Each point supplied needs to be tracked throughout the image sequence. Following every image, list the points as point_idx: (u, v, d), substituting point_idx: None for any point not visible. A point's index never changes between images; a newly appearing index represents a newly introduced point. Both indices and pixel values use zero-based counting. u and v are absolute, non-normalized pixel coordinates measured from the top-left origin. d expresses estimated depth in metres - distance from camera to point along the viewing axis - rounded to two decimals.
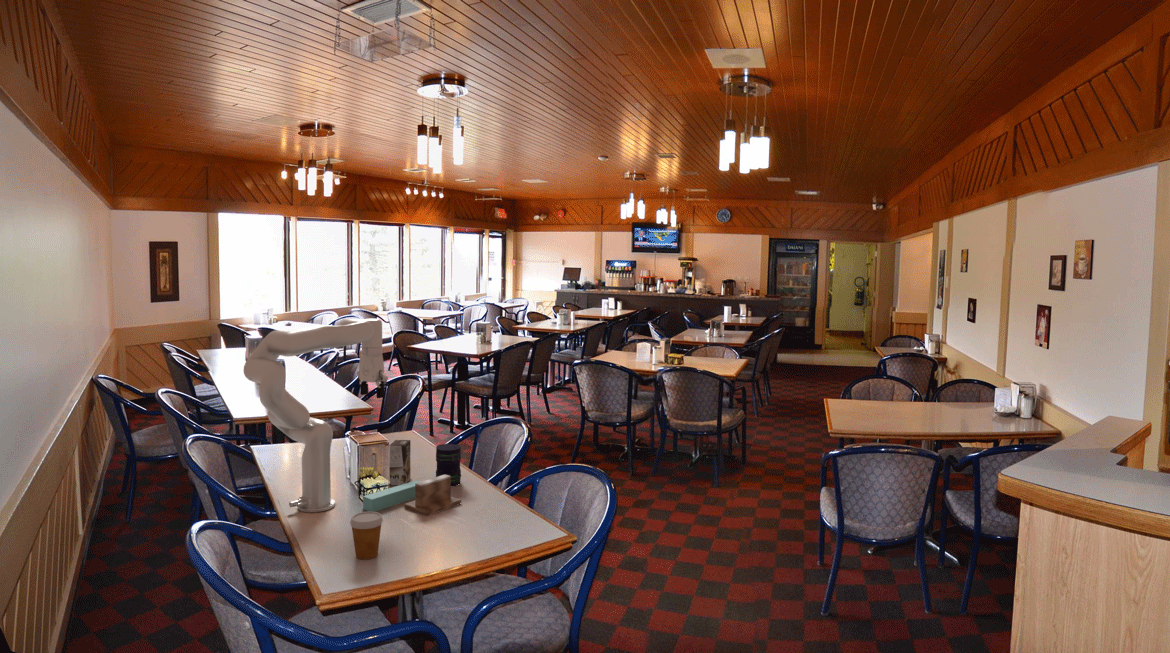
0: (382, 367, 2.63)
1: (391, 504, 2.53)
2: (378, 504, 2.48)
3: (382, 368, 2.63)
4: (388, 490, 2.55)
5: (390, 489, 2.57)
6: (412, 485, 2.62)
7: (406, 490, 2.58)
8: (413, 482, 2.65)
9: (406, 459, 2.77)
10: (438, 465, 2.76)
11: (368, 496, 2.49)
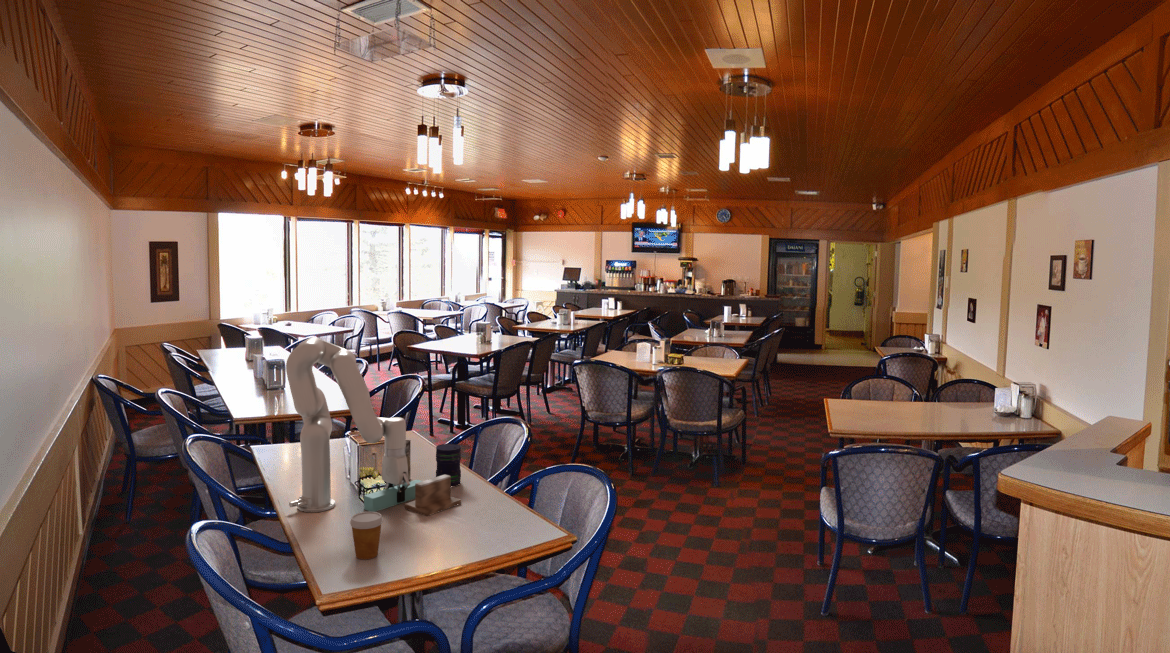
0: (406, 468, 2.54)
1: (392, 503, 2.53)
2: (379, 504, 2.48)
3: (406, 469, 2.54)
4: (389, 489, 2.56)
5: (391, 488, 2.57)
6: (413, 484, 2.62)
7: (407, 489, 2.58)
8: (414, 481, 2.65)
9: None
10: (438, 465, 2.76)
11: (369, 495, 2.49)
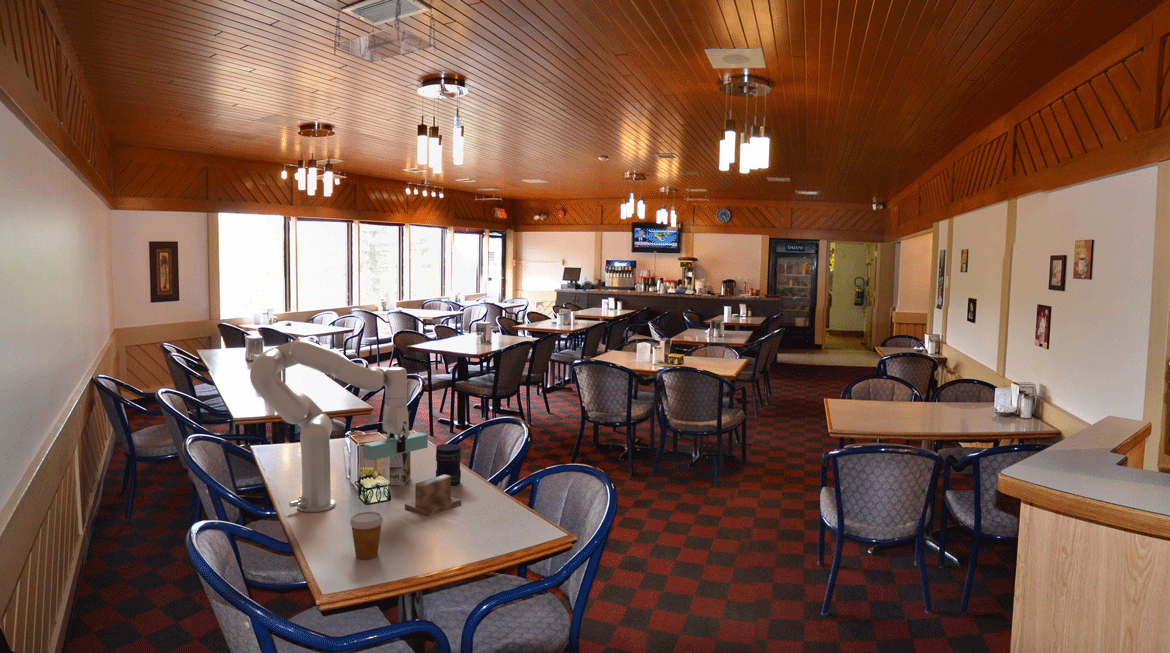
0: (406, 418, 2.52)
1: (392, 453, 2.51)
2: (379, 452, 2.47)
3: (406, 419, 2.52)
4: (389, 439, 2.54)
5: (392, 438, 2.55)
6: (414, 436, 2.59)
7: (408, 440, 2.56)
8: (416, 433, 2.63)
9: (406, 459, 2.77)
10: (438, 465, 2.76)
11: (368, 443, 2.47)
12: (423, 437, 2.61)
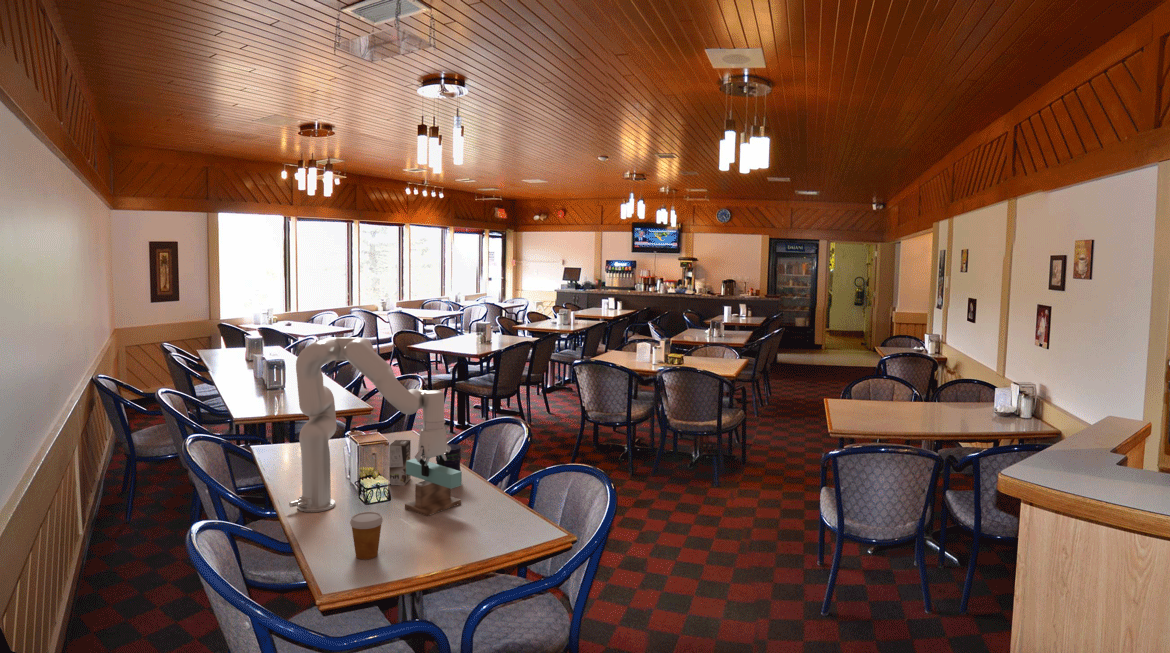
0: (424, 443, 2.47)
1: (421, 476, 2.53)
2: (411, 469, 2.56)
3: (424, 444, 2.47)
4: (431, 464, 2.54)
5: (433, 464, 2.54)
6: (443, 471, 2.47)
7: (434, 471, 2.48)
8: (454, 471, 2.48)
9: (406, 459, 2.77)
10: None
11: (415, 459, 2.59)
12: (447, 475, 2.44)
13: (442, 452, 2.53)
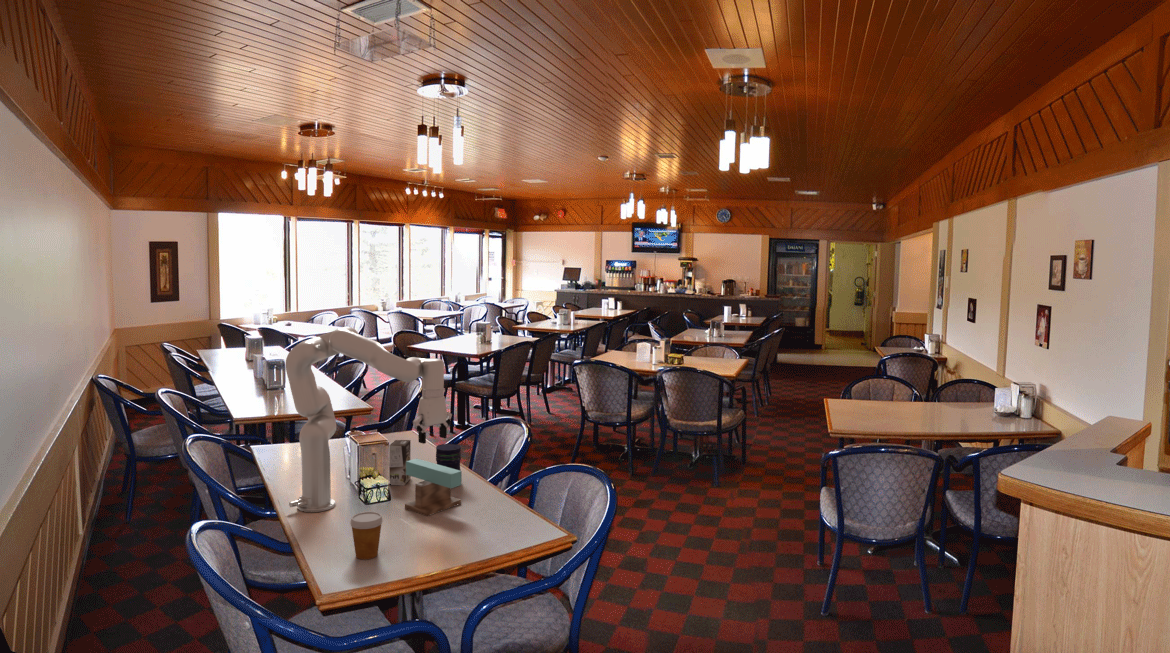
0: (424, 411, 2.46)
1: (421, 476, 2.53)
2: (411, 470, 2.56)
3: (423, 412, 2.46)
4: (430, 464, 2.54)
5: (433, 464, 2.54)
6: (443, 470, 2.47)
7: (433, 471, 2.48)
8: (454, 470, 2.48)
9: (406, 459, 2.77)
10: None
11: (415, 459, 2.60)
12: (447, 475, 2.44)
13: (441, 421, 2.52)
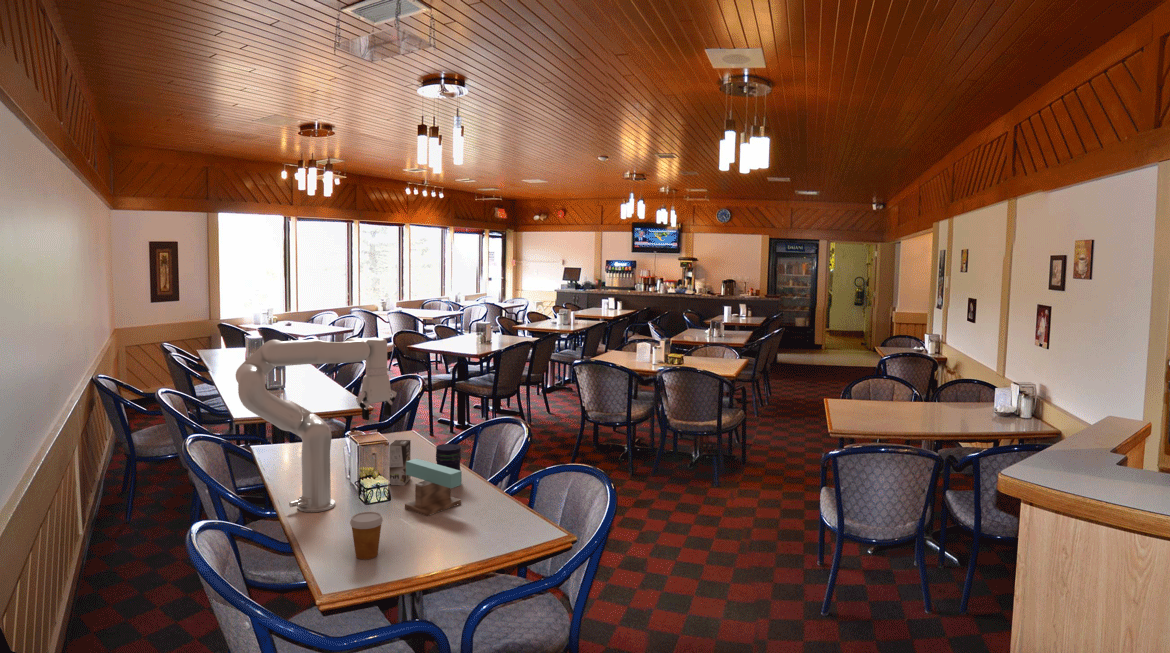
0: (367, 389, 2.53)
1: (421, 476, 2.53)
2: (411, 470, 2.56)
3: (367, 390, 2.53)
4: (430, 464, 2.54)
5: (433, 464, 2.54)
6: (443, 470, 2.47)
7: (433, 471, 2.48)
8: (454, 470, 2.48)
9: (406, 459, 2.77)
10: None
11: (415, 459, 2.60)
12: (447, 475, 2.44)
13: (385, 398, 2.59)
